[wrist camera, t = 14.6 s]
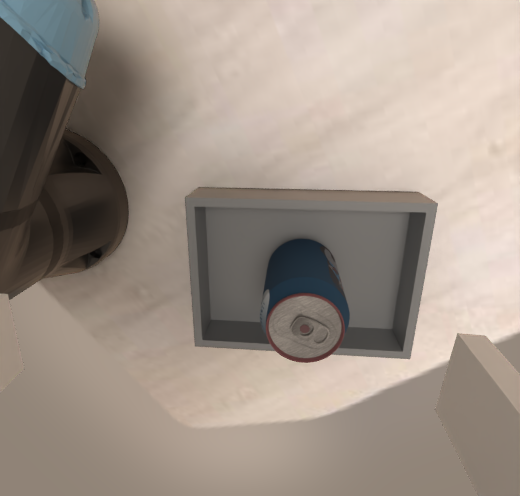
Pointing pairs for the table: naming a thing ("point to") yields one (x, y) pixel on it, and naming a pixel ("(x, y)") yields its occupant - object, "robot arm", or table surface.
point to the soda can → (304, 302)
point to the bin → (320, 230)
